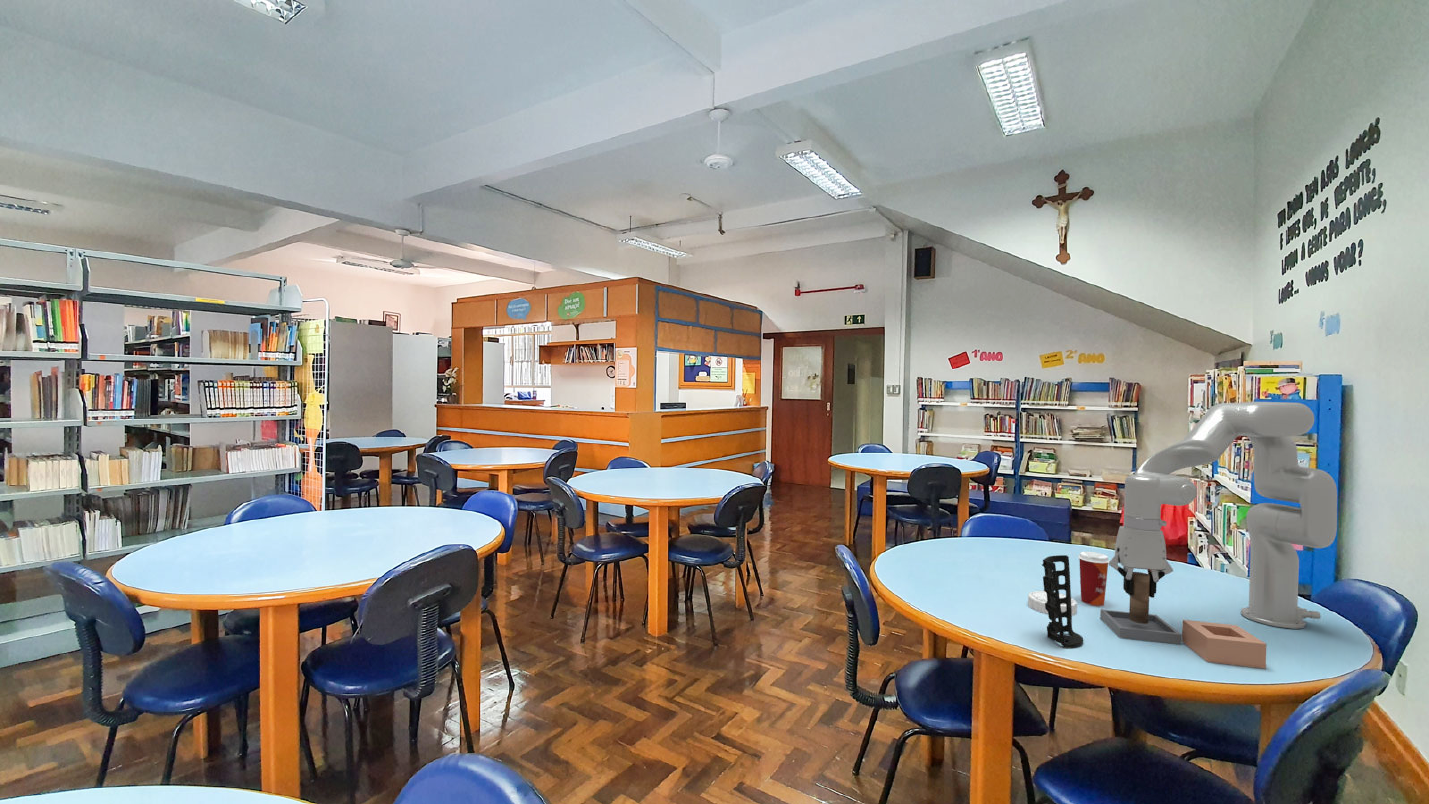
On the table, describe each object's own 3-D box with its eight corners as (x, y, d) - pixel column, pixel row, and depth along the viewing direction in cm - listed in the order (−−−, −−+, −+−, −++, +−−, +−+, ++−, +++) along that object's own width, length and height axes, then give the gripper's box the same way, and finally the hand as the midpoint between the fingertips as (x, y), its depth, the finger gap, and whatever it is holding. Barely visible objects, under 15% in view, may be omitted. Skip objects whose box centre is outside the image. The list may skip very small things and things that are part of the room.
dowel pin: (1144, 618, 150) (1145, 572, 149) (1151, 624, 146) (1152, 577, 146) (1126, 616, 151) (1127, 571, 151) (1133, 622, 147) (1134, 575, 147)
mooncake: (1081, 620, 156) (1082, 606, 156) (1031, 613, 160) (1032, 600, 160) (1071, 604, 167) (1071, 592, 167) (1024, 599, 171) (1024, 587, 171)
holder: (1083, 651, 135) (1076, 565, 136) (1046, 646, 139) (1039, 562, 140) (1083, 635, 144) (1076, 554, 145) (1048, 631, 148) (1041, 553, 149)
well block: (1235, 647, 139) (1236, 625, 139) (1265, 668, 128) (1266, 644, 128) (1182, 641, 142) (1182, 619, 142) (1206, 661, 131) (1207, 637, 131)
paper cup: (1107, 609, 163) (1108, 560, 163) (1075, 603, 168) (1076, 555, 168) (1109, 601, 169) (1110, 554, 169) (1078, 595, 174) (1079, 549, 174)
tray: (1156, 624, 153) (1156, 615, 153) (1181, 644, 140) (1181, 634, 140) (1100, 618, 156) (1100, 609, 156) (1119, 637, 144) (1120, 627, 144)
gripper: (1172, 523, 149) (1170, 593, 150) (1098, 518, 154) (1096, 586, 154) (1187, 529, 142) (1185, 603, 142) (1110, 524, 147) (1107, 596, 147)
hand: (1139, 594), depth 148 cm, fingers closed on dowel pin, 4 cm apart
